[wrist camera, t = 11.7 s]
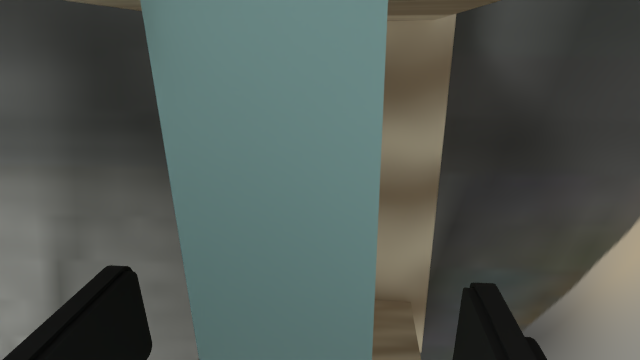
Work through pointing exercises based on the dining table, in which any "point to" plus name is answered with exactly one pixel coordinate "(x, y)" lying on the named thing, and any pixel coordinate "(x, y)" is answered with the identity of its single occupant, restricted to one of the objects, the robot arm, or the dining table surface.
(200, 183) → the teal long bar
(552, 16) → the dining table surface
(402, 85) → the stand
